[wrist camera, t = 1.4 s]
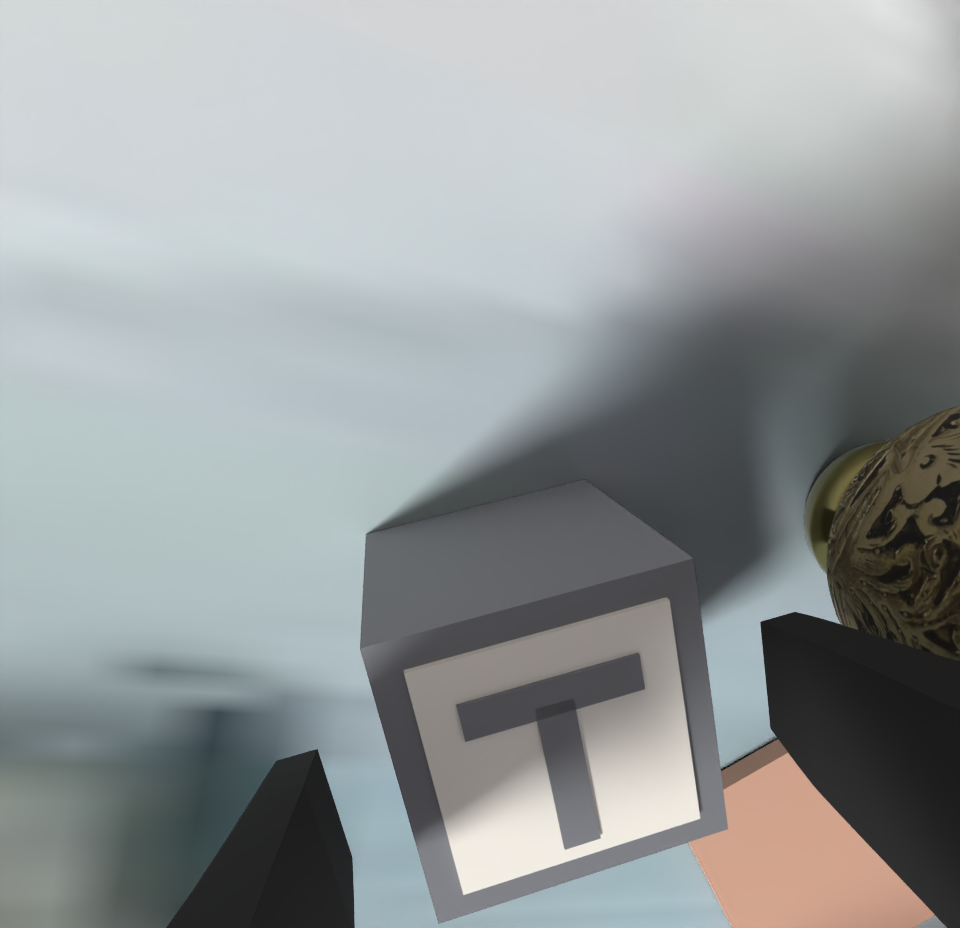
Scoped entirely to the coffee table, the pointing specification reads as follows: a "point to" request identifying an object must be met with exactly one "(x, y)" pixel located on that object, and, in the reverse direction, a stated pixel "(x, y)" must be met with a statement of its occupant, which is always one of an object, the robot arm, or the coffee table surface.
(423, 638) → the letter block
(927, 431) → the cup
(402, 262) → the coffee table surface
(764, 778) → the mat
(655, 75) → the coffee table surface
